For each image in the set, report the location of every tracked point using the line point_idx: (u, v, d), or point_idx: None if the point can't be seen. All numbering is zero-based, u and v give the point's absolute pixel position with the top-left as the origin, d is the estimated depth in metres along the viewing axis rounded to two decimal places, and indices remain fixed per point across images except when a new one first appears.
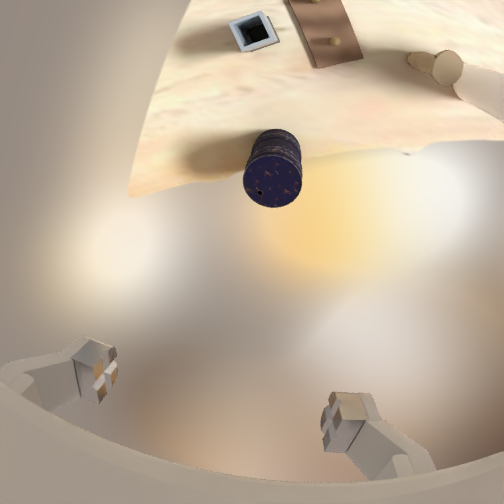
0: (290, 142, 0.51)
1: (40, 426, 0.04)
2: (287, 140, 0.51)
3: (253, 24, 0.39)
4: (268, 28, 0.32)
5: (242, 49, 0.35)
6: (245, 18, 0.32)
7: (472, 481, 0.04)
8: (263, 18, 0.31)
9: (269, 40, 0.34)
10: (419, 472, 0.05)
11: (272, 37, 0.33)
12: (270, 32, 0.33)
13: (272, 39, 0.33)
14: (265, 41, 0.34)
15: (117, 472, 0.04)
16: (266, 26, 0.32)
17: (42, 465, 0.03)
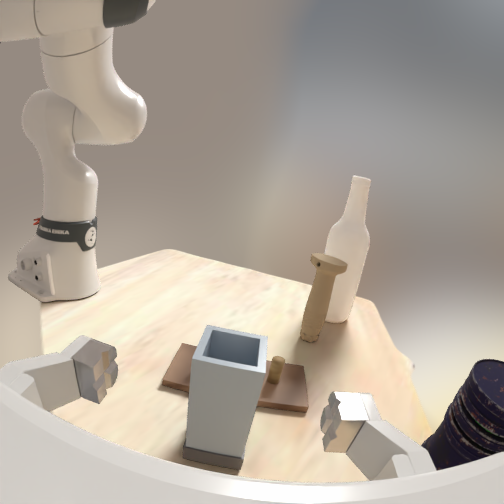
0: (429, 437, 0.21)
1: (40, 426, 0.04)
2: (427, 440, 0.21)
3: None
4: (243, 333, 0.24)
5: (261, 370, 0.19)
6: (204, 341, 0.22)
7: (472, 481, 0.04)
8: (222, 329, 0.24)
9: (264, 341, 0.23)
10: (419, 472, 0.05)
11: (261, 336, 0.24)
12: (251, 334, 0.24)
13: (265, 338, 0.24)
14: (264, 344, 0.23)
15: (117, 472, 0.04)
16: (238, 333, 0.24)
17: (42, 465, 0.03)
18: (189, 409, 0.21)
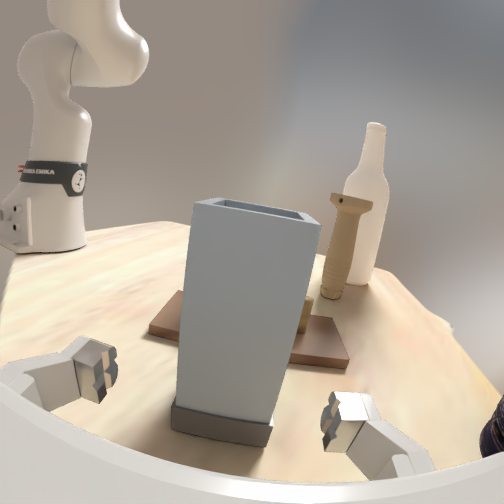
0: None
1: (40, 425, 0.04)
2: None
3: None
4: None
5: (314, 222, 0.12)
6: (214, 201, 0.14)
7: (472, 481, 0.04)
8: None
9: (304, 214, 0.16)
10: (419, 472, 0.05)
11: None
12: None
13: (303, 213, 0.16)
14: (305, 214, 0.15)
15: (117, 472, 0.04)
16: (263, 205, 0.16)
17: (42, 465, 0.03)
18: (183, 321, 0.13)
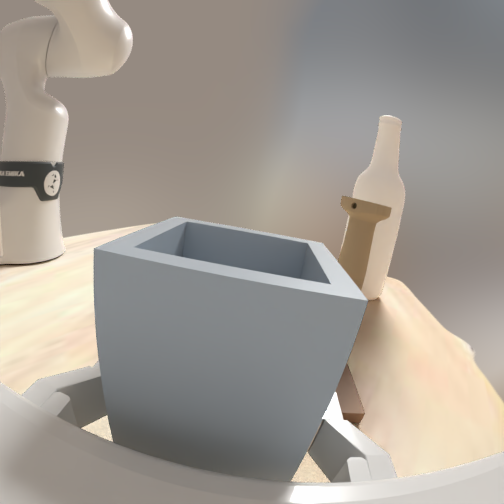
0: None
1: (40, 426, 0.04)
2: None
3: None
4: (264, 232, 0.10)
5: (350, 291, 0.05)
6: (157, 230, 0.08)
7: (472, 481, 0.04)
8: None
9: (320, 248, 0.09)
10: (377, 478, 0.05)
11: None
12: (284, 236, 0.10)
13: (318, 244, 0.10)
14: (322, 250, 0.09)
15: (117, 472, 0.04)
16: (251, 231, 0.10)
17: (42, 465, 0.03)
18: (115, 433, 0.06)
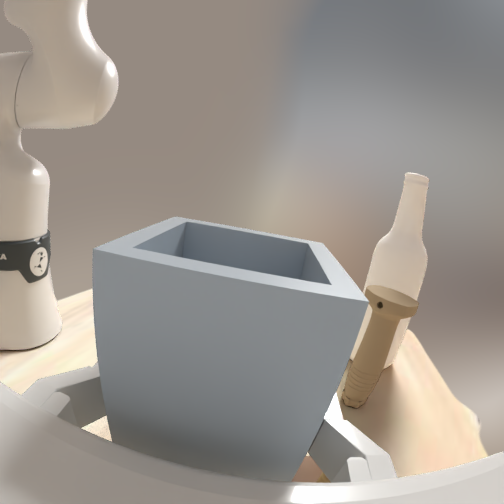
0: None
1: (40, 426, 0.04)
2: None
3: None
4: (264, 232, 0.10)
5: (351, 292, 0.05)
6: (157, 231, 0.08)
7: (472, 481, 0.04)
8: None
9: (321, 248, 0.09)
10: (376, 478, 0.05)
11: (310, 241, 0.10)
12: (285, 236, 0.10)
13: (319, 244, 0.10)
14: (322, 251, 0.09)
15: (117, 472, 0.04)
16: (251, 231, 0.10)
17: (42, 465, 0.03)
18: (114, 434, 0.06)
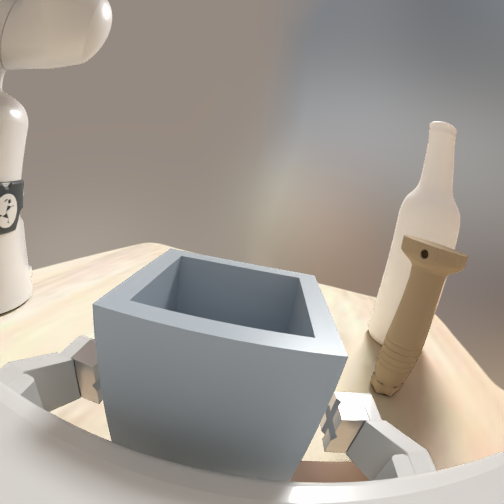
0: None
1: (40, 425, 0.04)
2: None
3: None
4: (256, 265, 0.10)
5: (332, 347, 0.05)
6: (152, 272, 0.08)
7: (472, 481, 0.04)
8: (205, 256, 0.10)
9: None
10: (419, 472, 0.05)
11: (301, 274, 0.10)
12: (277, 269, 0.10)
13: (310, 277, 0.10)
14: (312, 287, 0.09)
15: (117, 472, 0.04)
16: (244, 265, 0.10)
17: (42, 465, 0.03)
18: None
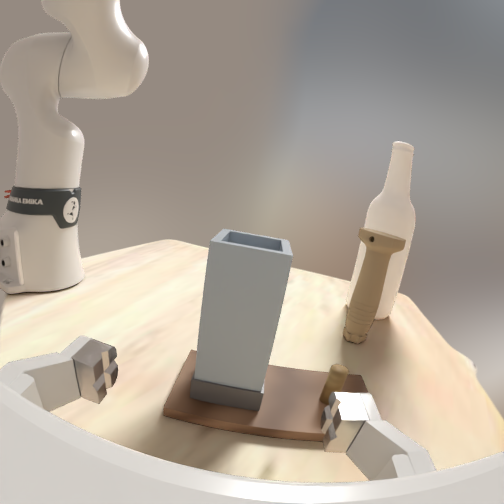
0: None
1: (40, 426, 0.04)
2: None
3: None
4: None
5: (288, 253, 0.18)
6: (222, 235, 0.21)
7: (472, 481, 0.04)
8: None
9: (286, 242, 0.22)
10: (419, 472, 0.05)
11: (282, 239, 0.23)
12: (271, 237, 0.23)
13: (286, 240, 0.23)
14: (286, 243, 0.22)
15: (117, 472, 0.04)
16: (257, 235, 0.23)
17: (42, 465, 0.03)
18: (202, 317, 0.20)
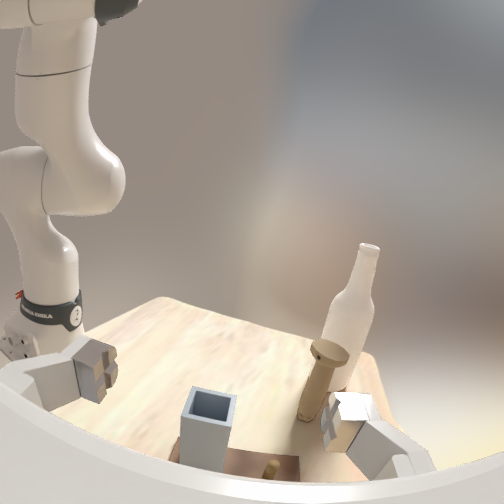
0: None
1: (40, 426, 0.04)
2: None
3: None
4: (218, 392, 0.30)
5: (228, 424, 0.26)
6: (190, 401, 0.28)
7: (472, 481, 0.04)
8: (203, 389, 0.30)
9: (234, 399, 0.30)
10: (419, 472, 0.05)
11: (232, 395, 0.30)
12: (225, 394, 0.30)
13: (234, 397, 0.30)
14: (233, 402, 0.29)
15: (117, 472, 0.04)
16: (215, 393, 0.30)
17: (42, 465, 0.03)
18: (180, 445, 0.27)
